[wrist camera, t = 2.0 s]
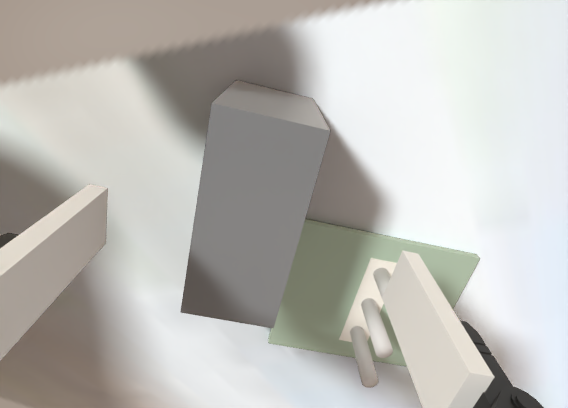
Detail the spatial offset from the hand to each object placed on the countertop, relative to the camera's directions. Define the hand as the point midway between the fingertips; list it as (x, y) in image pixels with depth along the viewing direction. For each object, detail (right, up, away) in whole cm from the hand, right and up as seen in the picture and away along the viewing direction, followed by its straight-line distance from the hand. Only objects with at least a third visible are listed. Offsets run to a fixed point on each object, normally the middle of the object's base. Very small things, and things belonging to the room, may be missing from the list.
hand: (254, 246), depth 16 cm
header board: (+8, -6, +14) cm, 17 cm away
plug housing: (-1, +4, +9) cm, 10 cm away
